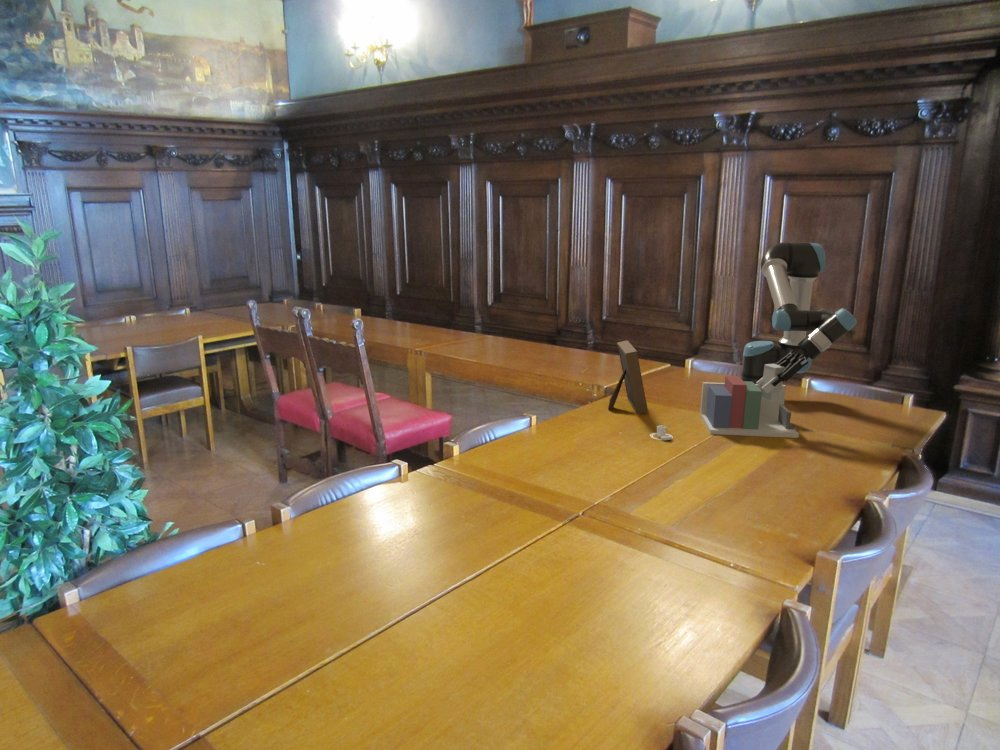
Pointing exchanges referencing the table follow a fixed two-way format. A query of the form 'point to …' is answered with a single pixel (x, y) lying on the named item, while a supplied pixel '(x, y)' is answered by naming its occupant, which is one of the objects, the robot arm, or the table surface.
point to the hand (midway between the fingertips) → (761, 387)
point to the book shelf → (764, 417)
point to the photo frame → (630, 378)
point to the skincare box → (768, 375)
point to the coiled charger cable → (661, 433)
